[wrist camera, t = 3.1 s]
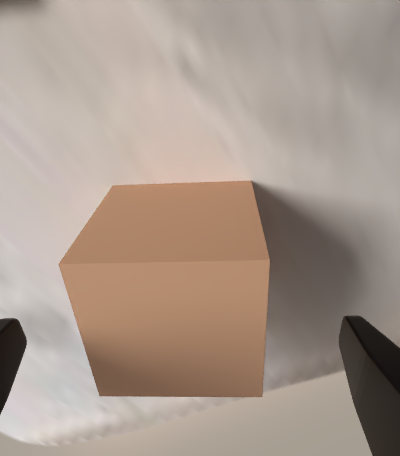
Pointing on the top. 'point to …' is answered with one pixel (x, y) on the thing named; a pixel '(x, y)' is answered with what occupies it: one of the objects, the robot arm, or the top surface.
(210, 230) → the terracotta cube
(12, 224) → the top surface
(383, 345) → the robot arm
